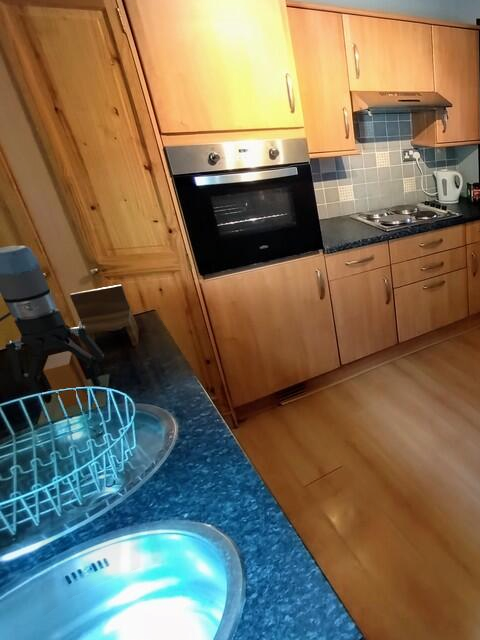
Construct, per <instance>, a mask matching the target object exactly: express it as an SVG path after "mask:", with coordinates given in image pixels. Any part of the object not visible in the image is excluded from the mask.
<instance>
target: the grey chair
mask: <svg viewBox="0 0 480 640" xmlns="http://www.w3.org/2000/svg"><path fill="white" fill-rule="evenodd" d="M69 297H70V299H71V302H72V304H73V306H74V309H75V311H76V314H77V316H78V318H79V320H78V325H77V327H79V326H80V325H85V326H86V329H87V333H88V334H89V336H90V337H91V338H92V339H93V341H94V342H95V343H96V338H95V335H94V334H97V333H101V332H107V330H110V329H115V328H119V327H122V328H124V327H125V329H126V331H127V335H128V336H129V340H130V342H131V344H132V346H133V347H135V346H138V345H139V326H138V323H137V322H136V319H135V317H134V314H133V311H132V309H131V305H130V303H129V301H128V298H127V295H126V292H125V289H124V287H123V285H122V284H121V283H120V284H116V285H111V286H105V287H100V288H99V287H98V288H94V289H88V290H83V291H82V290H81V291H77V292H72V293H69ZM76 337H77V340H78V342H79V343H80V346H81V348H82V349H83V350H85V351H86V352H87V353H89V354H90V355H92V356H93V354H92V353H91V352H90V350H89V349H88V348H87V347H86V345H85V344H84V343H83V342H82V341H81V339H80V337H79V336H76Z"/></svg>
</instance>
